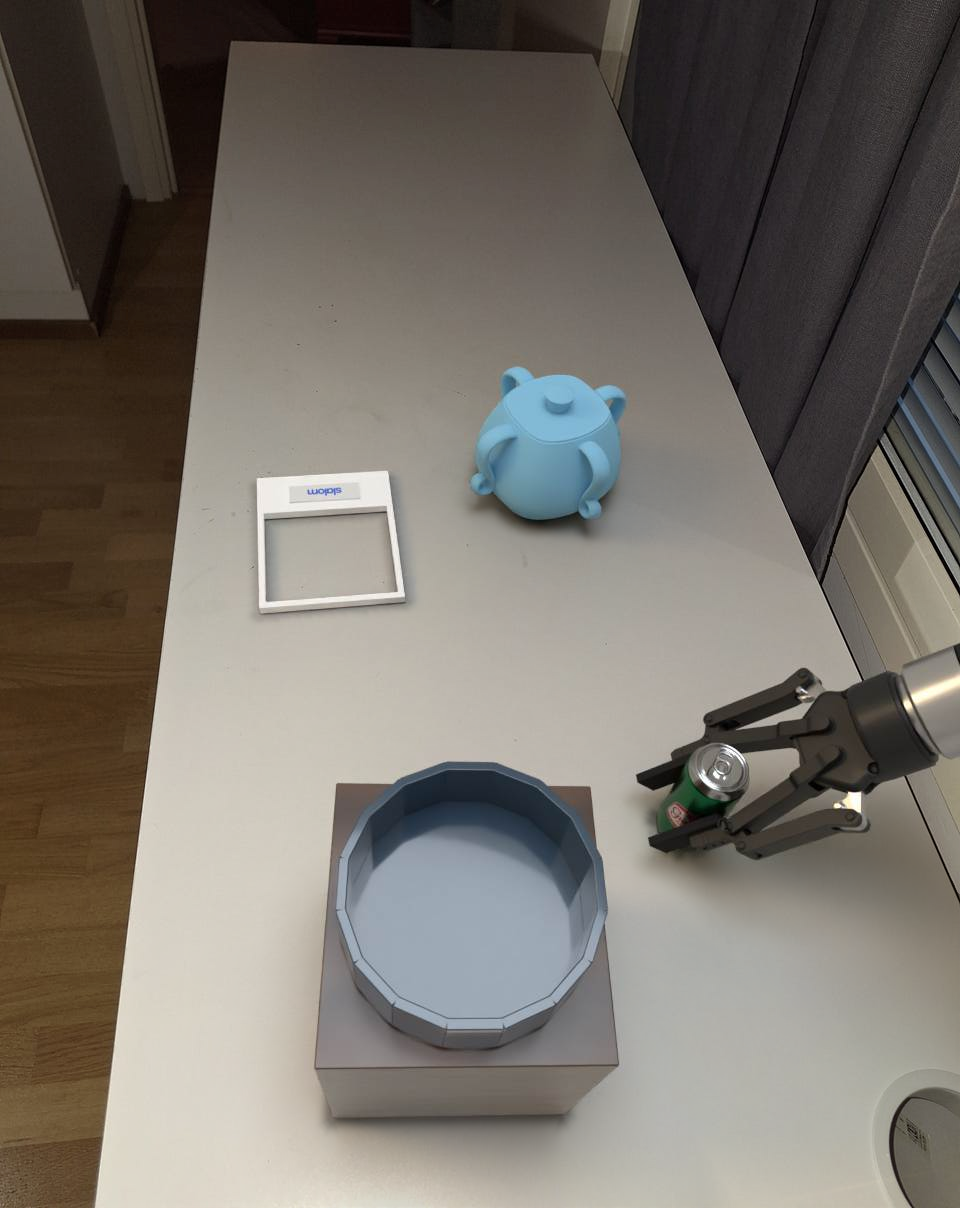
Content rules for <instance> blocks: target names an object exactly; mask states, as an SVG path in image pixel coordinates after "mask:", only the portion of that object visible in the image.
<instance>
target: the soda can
mask: <svg viewBox="0 0 960 1208" xmlns="http://www.w3.org/2000/svg"><path fill="white" fill-rule="evenodd" d="M750 780H751V779H750V768H749V764H748V762H747V759H746V758H745V756H744V755H743V753H742V754H741V753H740V752H739V751H738V750H736V749H735V748H733V747H731V746H730V745H727V744H723V743H711V744H708V745H705V746H702V747H699V748H698V749H696V750H695V751H694V752H693V753H692V754H691V756H690V757H689V759H688V761H687V762H686V764H685V766H684V767H683V769H682V771H681V773H680V774H679V776H678V778H677V779H676V781H675V783H673V784H672V786H671V788H670V790H669V791H668V793H667V795H666V797H664V800H663V801H662V803H661V806H660V807H659V809H658V811H657V814H656V826H657V829H658V831H659V833H662V832H665V831H667V830H670V829H673V828H676V827H679V826H682V825H684V824H687V823H690V822H693V821H696V820H698V819H701V818H704V817H707V816H710V815H713V814H716V813H717V814H719V815H721V816H723V817H725V818H727V819H728V818H729V815H731V813H732V811H733V810H734V809H735V808H736V806H737V805H738V803H739V802H740V801H741V799H742V798H743V796H744V795H746V793H747V792H748V790H749V787H750ZM679 851H685V852H694V851H698V850H697V849H694V848H692V847H691V845H690V846H687V847H684V848H681V849H679Z"/></svg>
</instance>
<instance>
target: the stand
mask: <svg viewBox="0 0 960 1208" xmlns="http://www.w3.org/2000/svg"><path fill="white" fill-rule="evenodd" d="M392 784H393V783H360V782H359V783H357V782H355V783H354V782H352V783H350V782H349V783H348V782H337V783H336V784H335V791H334V792H335V793H334V805H333V810H334V811H333V817H332V818H333V819H332V833H331V845H330V858H329V859H330V861H329V872H328V884H327V895H326V896H327V897H326V907H325V908H326V910H325V922H324V936H323V949H322V962H321V973H320V974H321V975H320V987H319V1000H318V1012H317V1014H318V1015H317V1024H316V1025H317V1026H316V1036H315V1037H316V1039H315V1041H316V1042H315V1050H314V1051H315V1053H314V1064H313V1069H314V1071H315V1074H316V1077H317V1080H318V1081H319V1084H320V1086H321V1089H322V1092H323V1094H324V1097H325V1099H326V1102H327V1104H328V1107H329V1110H330V1112H331V1114H332V1117H333V1118H335V1119H340V1118H341V1119H343V1118H344V1119H345V1118H347V1119H348V1118H397V1117H398V1118H402V1117H403V1118H404V1117H405V1118H406V1117H407V1118H412V1117H471V1116H473V1117H474V1116H475V1117H476V1116H478V1117H479V1116H535V1115H536V1116H539V1115H542V1116H543V1115H565V1114H567V1112H568V1111H570V1110H571V1109H572V1108H573V1107H574V1106H576V1105H577V1104H578V1103H579V1102H581V1100H582V1099H583V1098H584V1097H585V1096H587V1094H589V1093H590V1092H591V1091H592V1090H593V1089H595V1088H596V1086H598V1085H599V1084H600V1083H601V1082H602V1081H603V1080H605V1078H607V1077H608V1076H609V1075H610V1074H611V1073H612V1072H614V1071H615V1070H616V1069H617V1068H618V1067H619V1066H620V1060H619V1050H618V1040H617V1033H616V1032H617V1031H616V1019H615V1011H614V1001H613V991H612V981H611V972H610V963H609V962H610V961H609V952H608V943H607V934H606V933H607V932H606V924H604V927H603V930H602V934H601V937H600V940H599V944H598V947H597V950H596V954H595V957H594V960H593V963H592V965H591V966H590V968H589V969H588V971H587V972H586V974H585V975H584V977H583V978H582V980H581V981H580V983H579V984H578V986H577V987H576V988H575V989H574V991H573V992H572V993H571V994H570V995H569V996H568V998H567V999H566V1000H565V1001H564V1002H563V1004H562V1005H561V1006H560V1007H559V1008H558V1009H557V1011H556V1012H555V1013H554V1014H553V1015H552V1016H551V1018H550V1019H549V1020H548V1021H547V1022H546V1023H545V1024H544V1025H542V1026H540V1027H538V1028H536V1029H534V1030H532V1031H531V1032H529V1033H527V1034H525V1035H524V1036H522V1037H520V1038H518V1039H515V1040H513V1041H510V1042H507V1043H505V1044H502V1045H500V1046H496V1047H488V1048H480V1049H453V1048H443V1047H440V1046H437V1045H433V1044H430V1043H427V1042H425V1041H422V1040H419V1039H416V1038H415V1037H413V1036H411V1035H409V1034H407V1033H405V1032H403V1031H401V1030H400V1029H399V1028H397V1027H395V1026H393V1024H390V1022H389V1021H388V1020H386V1019H385V1018H384V1017H383V1016H382V1015H381V1014H380V1013H379V1012H378V1011H377V1010H376V1009H375V1008H374V1007H373V1006H372V1004H371V1003H370V1002H369V1001H368V999H367V998H366V997H365V995H364V994H363V993H362V991H361V990H360V989H359V988H358V987H357V985H356V984H355V981H354V978H353V975H352V972H351V969H350V967H349V965H348V962H347V958H346V955H345V952H344V949H343V946H342V943H341V940H340V937H339V932H338V925H337V919H336V913H335V903H336V889H337V875H338V861H339V856H340V854H341V852H342V850H343V848H344V846H345V844H346V842H347V840H348V838H349V836H350V834H351V832H352V830H353V828H354V826H355V824H356V822H357V820H358V818H359V816H360V814H361V812H363V810H364V809H365V808H366V807H367V806H369V805H370V804H371V803H372V802H373V801H374V800H375V799H376V798H378V797H379V796H380V795H381V794H382V793H383V792H384V791H386V790H387V789H388V788H389V787H390V786H391V785H392ZM547 786H548V787H549V788H551V789H552V790H553V791H554V792H555V793H556V794H557V795H558V796H560V797H561V798H562V799H563V800H564V801H565V802H566V803H567V804H569V805H570V806H571V807H572V808H573V809H574V810H575V811H576V812H578V814H579V815H580V817H581V819H582V821H583V823H584V825H585V826H586V828H587V830H588V832H589V834H590V836H591V838H592V840H593V842H594V844H595V846H596V847H597V846H598V845H597V835H596V827H595V817H594V808H593V807H594V806H593V797H592V789H591V788H592V787H591V786H590V785H588V786H587V785H586V786H585V785H584V786H583V785H547ZM597 848H598V847H597Z"/></svg>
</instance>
